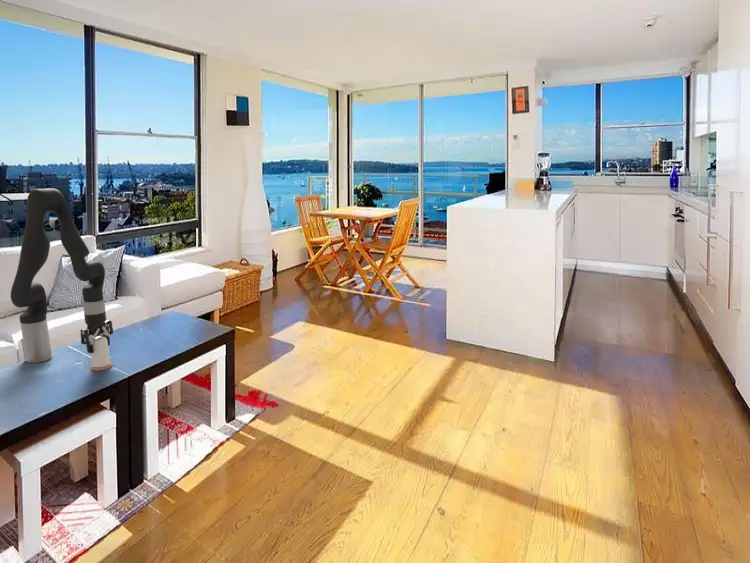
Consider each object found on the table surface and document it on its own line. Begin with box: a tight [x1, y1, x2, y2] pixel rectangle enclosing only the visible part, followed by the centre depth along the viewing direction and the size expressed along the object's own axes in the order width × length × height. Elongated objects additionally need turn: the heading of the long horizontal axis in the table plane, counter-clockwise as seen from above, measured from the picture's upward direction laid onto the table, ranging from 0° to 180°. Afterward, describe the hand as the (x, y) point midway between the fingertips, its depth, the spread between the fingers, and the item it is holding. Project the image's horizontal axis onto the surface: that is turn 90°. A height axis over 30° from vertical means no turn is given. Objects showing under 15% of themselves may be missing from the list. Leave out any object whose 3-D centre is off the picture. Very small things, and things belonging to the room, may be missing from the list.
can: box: [89, 334, 111, 368], centre depth 204 cm, size 6×6×12 cm
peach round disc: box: [90, 361, 114, 372], centre depth 206 cm, size 8×8×1 cm
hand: (99, 349), depth 204 cm, fingers open, 8 cm apart
